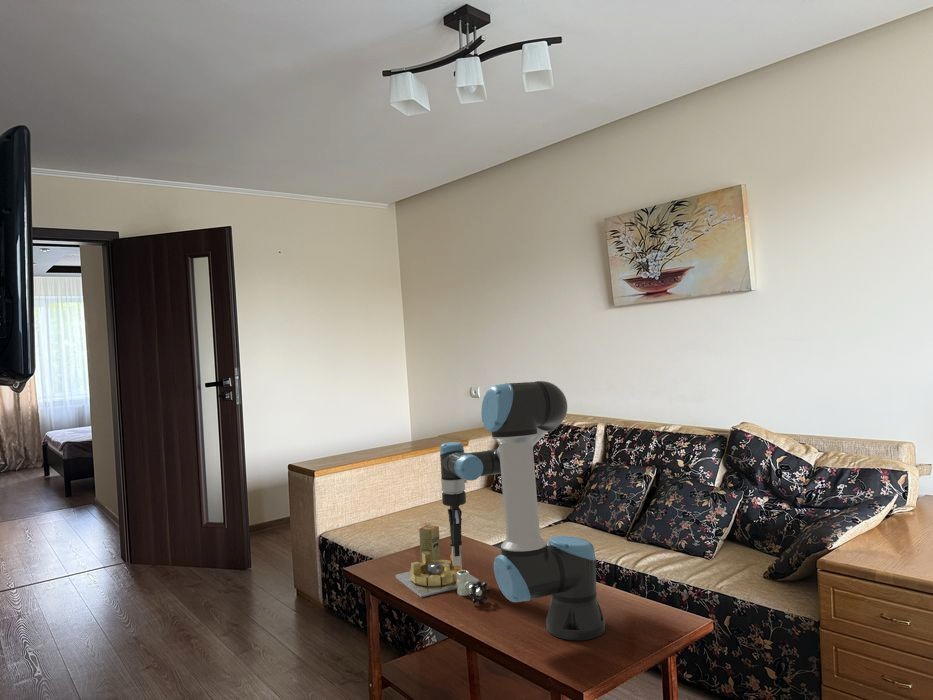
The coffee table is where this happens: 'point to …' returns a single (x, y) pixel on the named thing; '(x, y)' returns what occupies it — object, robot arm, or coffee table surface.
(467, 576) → the valve
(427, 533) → the shoe polish box
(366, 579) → the coffee table surface
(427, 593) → the hub plate
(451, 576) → the tan toothed ring
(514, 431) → the robot arm
